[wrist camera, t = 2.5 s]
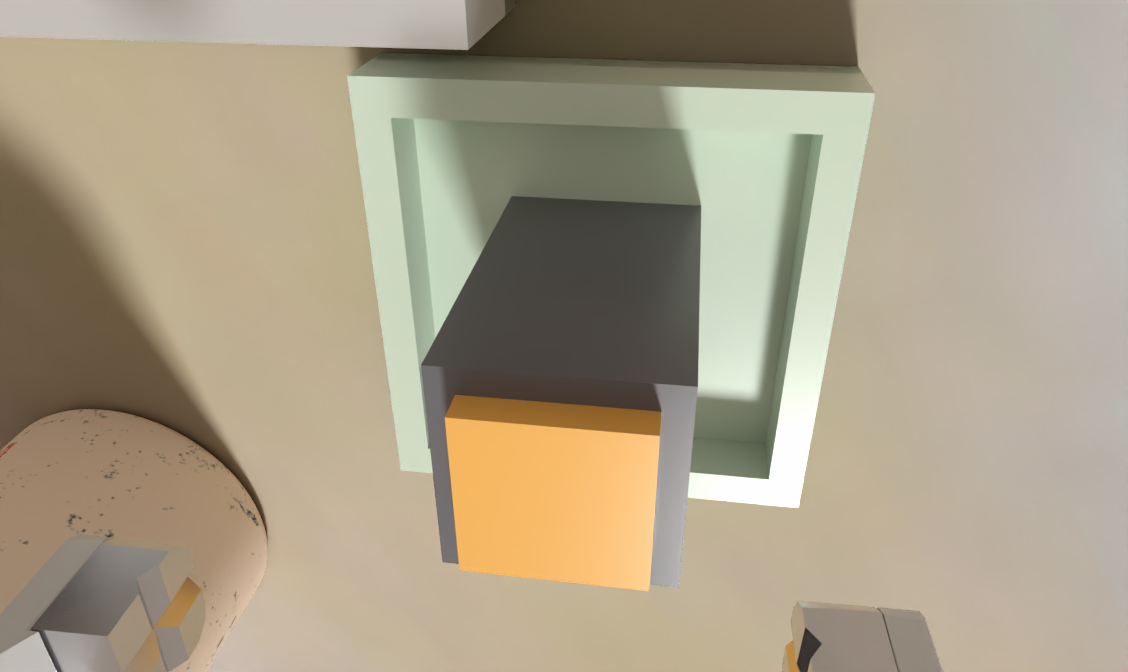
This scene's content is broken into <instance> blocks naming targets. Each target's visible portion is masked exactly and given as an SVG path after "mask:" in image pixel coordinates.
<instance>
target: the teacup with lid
mask: <svg viewBox="0 0 1128 672" xmlns="http://www.w3.org/2000/svg"><path fill="white" fill-rule="evenodd" d="M78 534H82V535H91V536H100V537H109V538H122V539H130V540H139V541H147V542H155V543H164V544H172V545H180V546H183V547H187V548H189V551H190V554H191V556H192V559H193V562H194V565H195V566H194V568H193V569H192V571H191V572H190V574H189V575H188V577H189V578H190V579H191V580H192V581H193V582H194V583H195V584H196V585H198V586H199V587H200V588H201V589H202V592H203V596H204V599H205V622H204V626H203V629H202V633H201V636H200V640H199V642H198V644H197V646H196V647H195V649H194V651H193V653H192V654H191V656H190V658H189V659H188V660H187V661H185V662H184V663H182V664H181V665H179V666H178V667H176V668H175V669H173V670H172V671H170V672H207V671H208V670H209V668H210V666H211V665H212V663H213V661H214V660H215V658H216V656H217V655H218V653H219V651H220V649H221V648H222V646H223V644H224V643H225V641H226V639H227V638H228V636H229V634H230V633H231V631H232V629H233V628H234V626H235V624H236V623H237V621H238V619H239V618H240V616H241V614H242V613H243V611H244V609H245V608H246V606H247V604H248V602H249V601H250V599H251V597H252V596H253V594H254V592H255V591H256V589H257V587H258V586H259V584H260V582H261V580H262V577H263V575H264V573H265V569H266V565H267V557H268V542H267V536H266V531H265V528H264V525H263V521H262V519H261V516H260V514H259V512H258V509H257V508H256V506H255V504H254V502H253V500H252V499H251V497H250V496H249V494H248V493H247V491H246V490H245V488H244V487H243V486H242V484H241V483H240V482H239V481H238V479H237V478H236V477H235V476H234V475H233V474H232V473H231V472H230V471H229V470H228V469H227V468H226V467H225V466H224V465H223V464H222V463H221V462H220V461H219V460H217V459H216V458H215V457H214V456H213V455H211V454H210V453H209V452H208V451H206V450H205V449H203V448H202V447H201V446H199V445H198V444H196V443H195V442H193V441H191V440H190V439H188V438H187V437H185V436H183V435H181V434H179V433H178V432H176V431H174V430H172V429H170V428H168V427H165V426H163V425H161V424H159V423H156V422H153V421H151V420H148V419H145V418H142V417H139V416H135V415H132V414H127V413H123V412H117V411H111V410H100V409H77V410H69V411H64V412H60V413H56V414H52V415H49V416H47V417H44V418H42V419H40V420H38V421H36V422H34V423H32V424H31V425H29V426H28V427H27V428H25V429H24V430H23V431H21V432H20V433H19V434H18V435H17V436H16V437H15V438H13V439H12V440H11V441H10V442H9V443H8V444H7V445H5V446H4V447H3V448H2V449H1V450H0V614H1V613H2V612H3V611H4V609H5V608H6V607H7V606H8V605H9V604H10V603H11V602H12V600H13V599H14V598H15V597H16V596H17V595H18V594H19V593H20V591H21V590H22V589H23V588H24V587H25V586H26V585H27V584H28V582H29V581H30V580H31V579H32V578H33V577H34V576H35V575H36V573H37V572H38V571H39V570H40V569H41V568H42V567H43V566H44V564H45V563H46V562H47V561H48V560H49V559H50V558H51V557H52V555H53V554H54V553H55V552H56V551H57V550H58V549H59V548H60V546H61V545H62V544H63V543H64V542H65V541H66V540H68V539H70V538H72V537H74V536H76V535H78Z"/></svg>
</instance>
